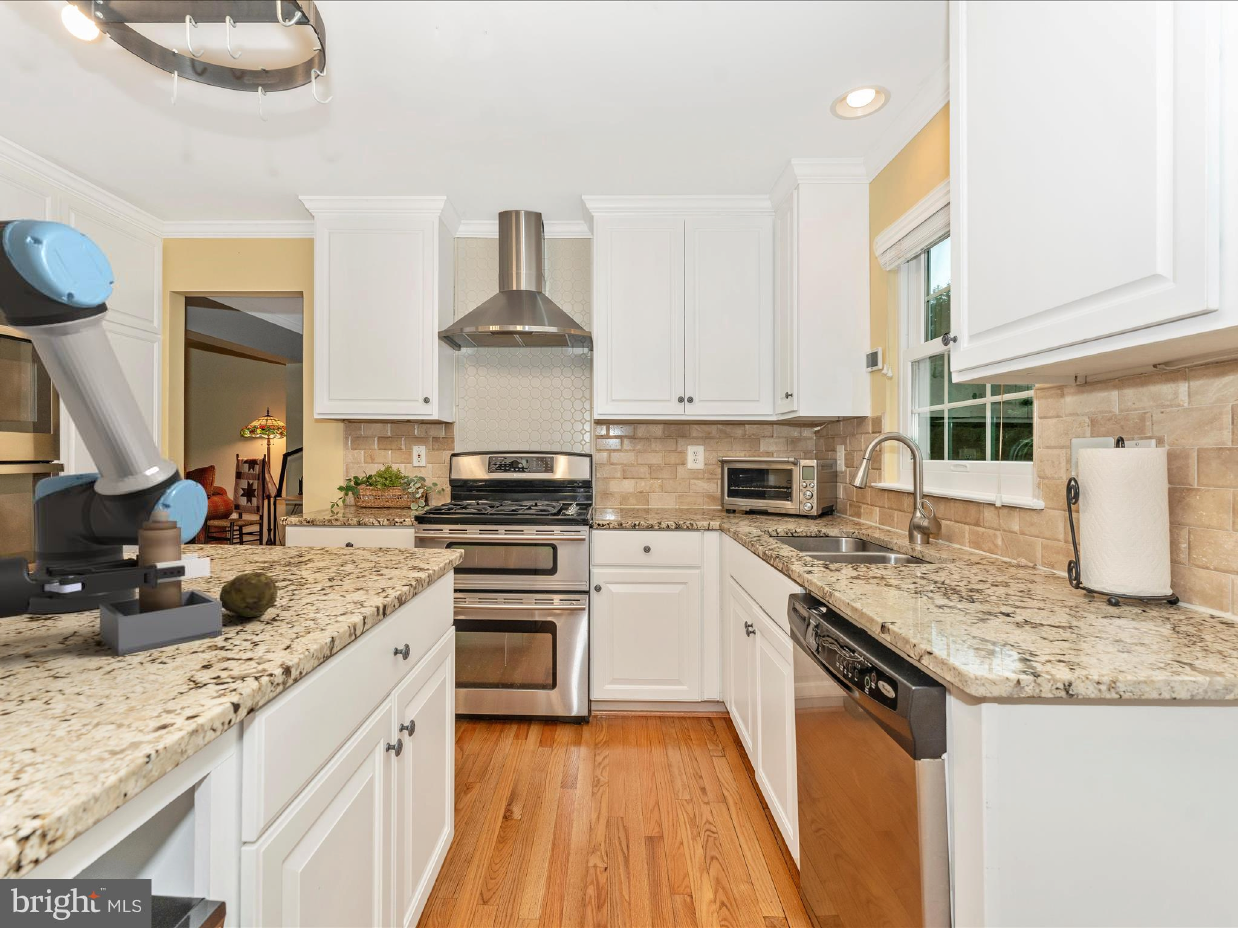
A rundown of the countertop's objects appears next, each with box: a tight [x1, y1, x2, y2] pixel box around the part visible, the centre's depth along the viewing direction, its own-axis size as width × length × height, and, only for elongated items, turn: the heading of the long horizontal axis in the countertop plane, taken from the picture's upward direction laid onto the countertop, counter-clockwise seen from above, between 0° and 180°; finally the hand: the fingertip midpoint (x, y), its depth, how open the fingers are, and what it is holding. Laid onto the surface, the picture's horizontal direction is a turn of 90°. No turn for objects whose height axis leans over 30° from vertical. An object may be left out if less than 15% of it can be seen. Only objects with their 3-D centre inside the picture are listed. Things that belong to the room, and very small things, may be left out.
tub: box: [99, 589, 223, 657], centre depth 88 cm, size 12×12×5 cm
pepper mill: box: [138, 509, 183, 614], centre depth 88 cm, size 5×5×17 cm
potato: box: [218, 571, 279, 618], centre depth 98 cm, size 8×13×8 cm, turn 31°
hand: (202, 564), depth 92 cm, fingers closed on pepper mill, 5 cm apart
